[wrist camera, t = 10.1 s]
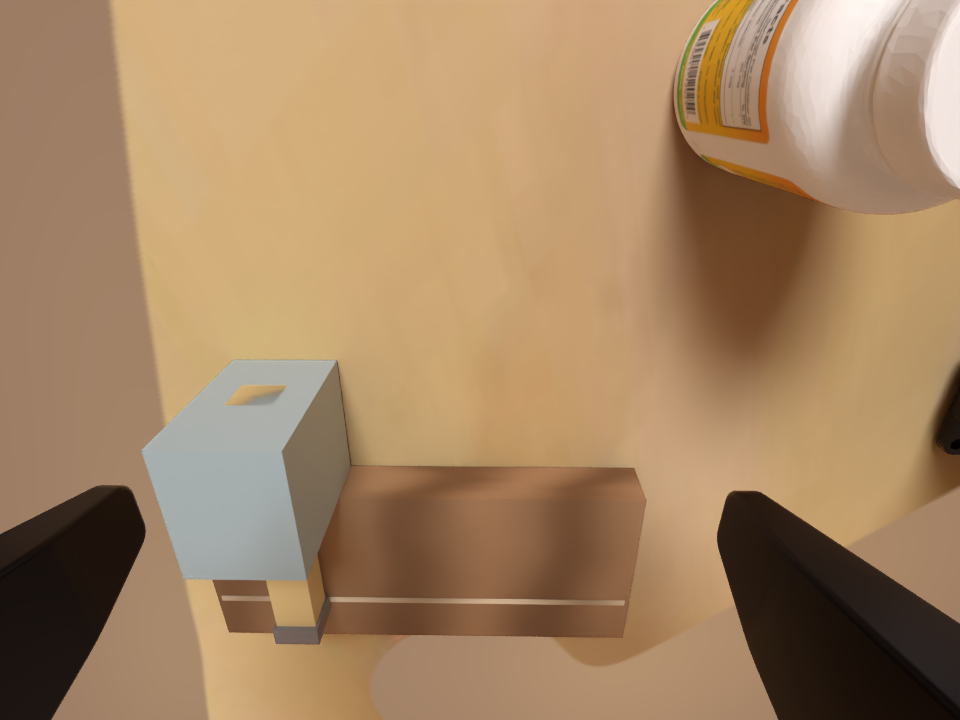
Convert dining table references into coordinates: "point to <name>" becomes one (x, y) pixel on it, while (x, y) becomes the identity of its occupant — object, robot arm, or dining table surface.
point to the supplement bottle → (828, 98)
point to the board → (471, 554)
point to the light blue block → (257, 483)
